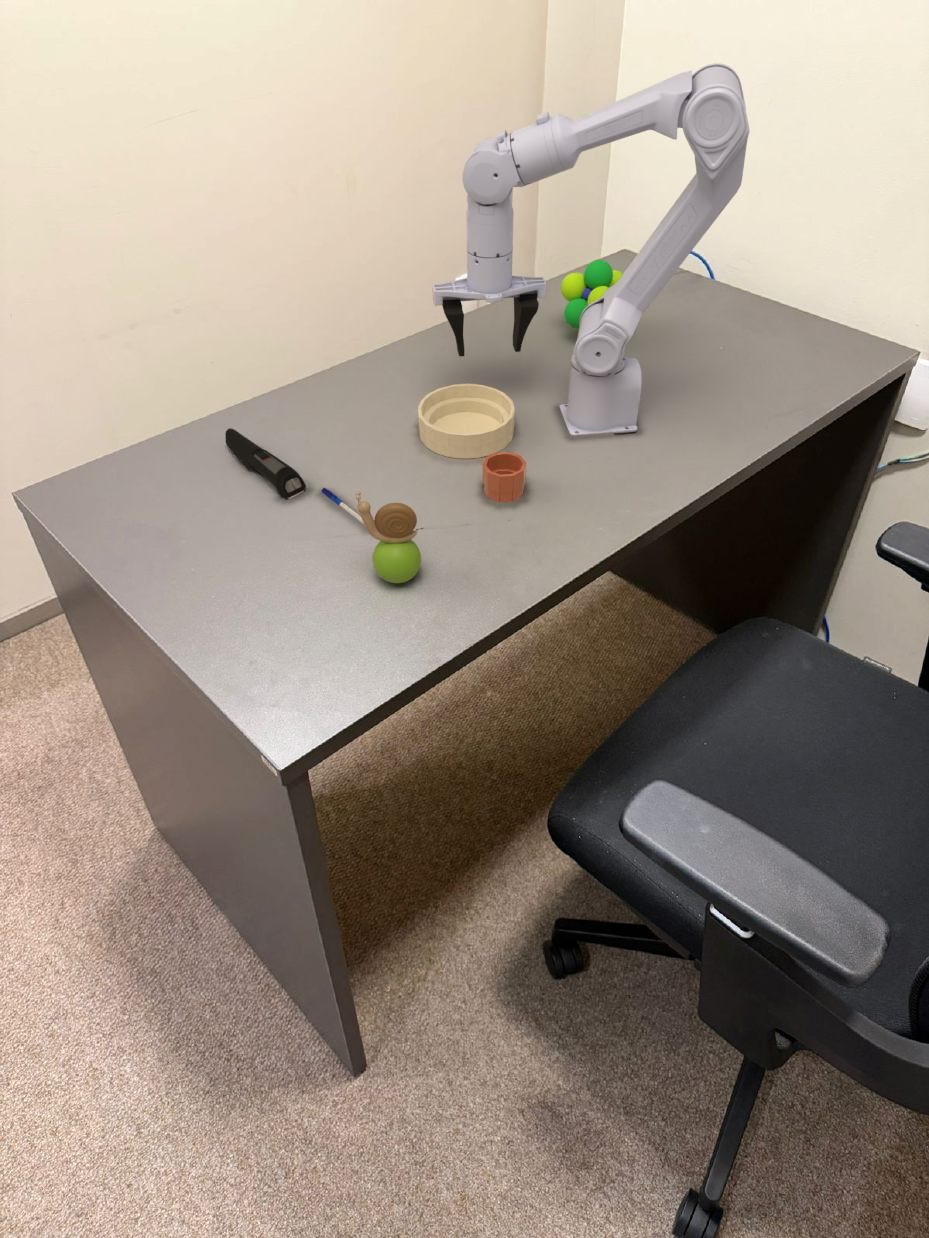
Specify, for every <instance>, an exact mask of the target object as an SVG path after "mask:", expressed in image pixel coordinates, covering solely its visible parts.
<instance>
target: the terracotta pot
mask: <svg viewBox="0 0 929 1238" xmlns="http://www.w3.org/2000/svg"><path fill="white" fill-rule="evenodd" d="M526 476H527V462H526V460H525V459H524V458H523V456H521V455H520V454H518V453H514V452H511V451H498V452H496V453H494V454H492V455H488V456H485V458H484V460H483V463H482V483H483V493H484V494H485V495H486V497H487V498H488V499H489V500H492V501H494V502H496V503H502V504H503V503H512V502H515V501H517V500H519V499H521V498H522V497H523V494H524V491H525V482H526V479H527V477H526Z"/></svg>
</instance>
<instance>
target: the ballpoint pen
mask: <svg viewBox="0 0 929 1238" xmlns="http://www.w3.org/2000/svg"><path fill="white" fill-rule="evenodd" d="M321 493H322V494H323V495H324V496H326V497H327V498H328V499H330V500H331V501H332V502H333V503H335V504H336V505H337V506H339V507H340V508H342V509H343V510H344V511H346V512H347V513H348V514H349V515H351V516H352V517H354V518H355V519H356V520H358V521H359V522H360V523H361V524H363V525H364V523H363V520H362V517H361V514H360V513H357V512H356V511H355V510H353V509H352V508H351V507H350V506H349V505H347V504H346V503H344V501H343V500H341V499H340V498H339V497H338V496H337V495H336V494H335V493H333V492H332V491H331V490H329V489H328V488H326V487H322V489H321Z"/></svg>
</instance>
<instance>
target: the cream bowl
mask: <svg viewBox="0 0 929 1238" xmlns="http://www.w3.org/2000/svg"><path fill="white" fill-rule="evenodd" d="M515 413H516V408H515V405H514V401H513V399H512V398H511V397H509V396H508V395H507V394H506V393H505V392H504V391H501V390H500V389H497V388H496V387H491V386H489V385H488V386H487V385H484V384H477V383H457V384H451V385H446V386H442V387H439V388H437V389H435V390H433V391H430V392H428V393H427V394H426V395H425V396H424V397H423V398H421V400H420V402H419V404H418V406H417V421H418V435H419V440H420V441H421V443H423V445H424V446H425V448H427V449H428V450H430V451H432V452H433V453H435V454H437V455H440V456H444V457H447V458H451V459H452V458H453V459H462V460H468V459H480V458H484V457H485V458H486V457H488V456H490V455H492V454H494V453H496V452H501V451H503V450H504V449H506V448H507V446H508V445H509V444H510V443H511V442H512V441H513V437H514V434H515V421H516V417H515V415H516V414H515Z"/></svg>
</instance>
